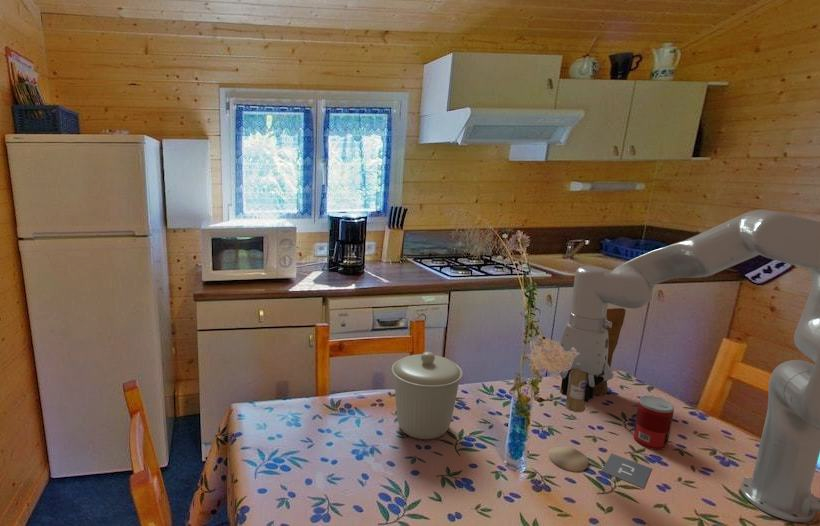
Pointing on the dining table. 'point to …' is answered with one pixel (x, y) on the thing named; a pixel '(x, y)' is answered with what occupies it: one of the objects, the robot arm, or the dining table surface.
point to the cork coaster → (568, 458)
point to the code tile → (627, 470)
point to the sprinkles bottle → (576, 390)
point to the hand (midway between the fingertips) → (576, 395)
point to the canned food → (653, 422)
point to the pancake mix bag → (610, 342)
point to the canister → (425, 394)
